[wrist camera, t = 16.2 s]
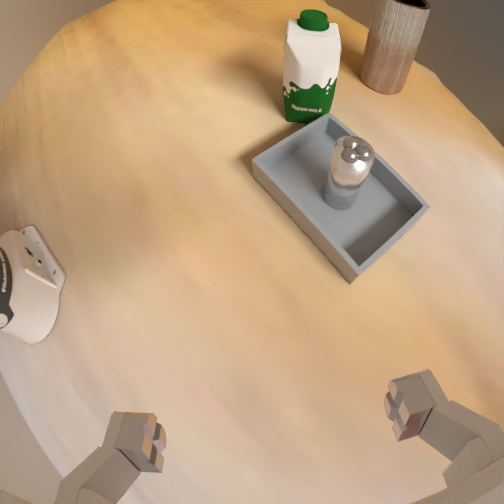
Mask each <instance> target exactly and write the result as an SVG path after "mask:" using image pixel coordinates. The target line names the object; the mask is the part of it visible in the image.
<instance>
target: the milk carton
mask: <svg viewBox="0 0 504 504" xmlns="http://www.w3.org/2000/svg"><path fill="white" fill-rule="evenodd" d="M286 36H287V37H286ZM285 39H286V43H285V40H284V43H285V49H284V46H283V51H284V57H283V94H284V102H285V110H286V118H287V121H289V122H300V123H312V122H313V121H315V120H317V119H318V118H320V117H322V116H324V115H325V114H327V113H329V111H330V108H331V104H332V101H333V97H334V92H335V87H336V81H337V75H338V70H339V63H340V57H341V40H340V35H339V30H338V25H337V24H336V23H329V22H327V15H326V14H325V13H324V12H321V11H318V10H304V11H302V12H301V14H300V19H289V22H288V26H287V30H286V34H285Z"/></svg>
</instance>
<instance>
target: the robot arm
mask: <svg viewBox="0 0 504 504" xmlns="http://www.w3.org/2000/svg"><path fill="white" fill-rule="evenodd" d="M55 272H56V273H55ZM64 280H65V273H64V271H63V270H62V268H61V267H60V265H59V264H58V262H57V261H56V259H55V258H54V256H53V254H52V253H51V251H50V250H49V248H48V247H47V245H46V243H45V242H44V240H43V239H42V237H41V235H40V234H39V232H38V230H37V229H36V227H34V226H28V227H25V228H23V229H22V230H20V231H19V232H18V231H16V230H9V231H7V232H5V233H3V234H2V235H1V236H0V331H2V332H3V333H5V334H8V335H11V336H13V337H15V338H17V339H19V340H21V341H22V342H24V343H27V344H34V343H37V342H39V341H41V340H43V339H44V338H45V337H46V336H47V335H48V333H49V332H50V331H51V329H52V327H53V325H54V323H55V320H56V317H57V313H58V307H59V295H60V291H61V288H62V286H63V283H64ZM388 389H389V392H388V393H387V394H386V395H385V400H384V405H385V411H386V414H387V417H388V418H389V419H390V420H392V421H394V423H393V426H392V429H393V432H394V434H395V437H396V439H397V442H399V441H402V440H405V439H408V438H411V437H414V436H417V435H419V437H420V438H421V439H423V440H424V441H425V442H427V443H428V444H429V445H431V446H432V447H433V448H435V449H436V450H437V451H439V452H440V453H441V454H443V455H444V456H445V457H447V458H448V459H449V460H451V461H452V462H451V464H450V465H449V466H448V467H447V468H446V469H445V470H444V472H443V476H444V479H445V481H446V484H447V487H448V488H446V489H444V490H442V491H439V492H437V493H435V494H433V495H430V496H428V497H426V498H423V499H421V500H418V501H416V502H413V503H410V504H504V433H503V431H502V429H501V428H500V426H499V424H497V423H495V422H493V421H491V420H489V419H487V418H485V417H483V416H481V415H479V414H477V413H475V412H474V411H472V410H470V409H468V408H466V407H464V406H462V405H460V404H458V403H456V402H455V401H453V400H451V401H448V399H447V397H446V395H445V394H444V392H443V390H442V389H441V387H440V385H439V384H438V382H437V380H436V379H435V377H434V375H433V374H432V372H431V371H430V370H429V369H427V370H423V371H421V372H418V373H413V374H410V375H407V376H404V377H401V378H398V379H394V380H391V381H390V382H389V384H388ZM156 421H157V417H156V416H155V415H154V413H134V412H115V411H114V412H113V414H112V415H111V418H110V421H109V424H108V428H107V431H106V435H105V438H104V442H103V445H102V447H98V448H97V449H96V450H95V451H94V452H93V453H92V454H90V455H89V456H88V457H87V458H86V459H85V460H84V461H83V462H82V463H81V464H80V465H78V466H77V467H76V468H75V469H74V470H73V471H72V472H71V473H70V474H68V475H67V476H66V477H65V478H64V479H63V480H62V481H61V483H60V486H59V489H58V493H57V496H56V501H55V504H116V503H117V502H118V501H119V500H120V498H121V497H122V496H123V495H124V494H125V492H126V491H127V490H128V489H129V487H130V486H131V485H132V484H133V482H134V481H135V480H136V479H137V477H138V476H139V475H140V473H141V472H156V473H162V468H163V460H164V457H163V456H162V454H161V452H162V451H163V450H164V448H165V446H166V434H165V431H164V428H163V427H162V425H161V424H159V423H157V422H156ZM0 504H37V503H34V502H32V501H29V500H27V499H25V498H22V497H20V496H18V495H15V494H13V493H11V492H9V491H7V490H5V489H3V488H1V487H0Z"/></svg>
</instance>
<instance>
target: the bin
mask: <svg viewBox="0 0 504 504" xmlns="http://www.w3.org/2000/svg"><path fill="white" fill-rule="evenodd" d="M344 136H356V137H358V136H357V135H356V134H355V133H354V132H352V131H351V130H350V129H349V128H348V127H346V126H345V125H344V124H343V123H342V122H340V121H339V120H338V119H337V118H336V117H334V116H333V115H332V114H331V113H327V114H325V115H324V116H322V117H320V118H318V119H317V120H315V121H313V122H312V123H310V124H308V125H306V126H305V127H303V128H301V129H300V130H298V131H296V132H295V133H293V134H291V135H290V136H288V137H286V138H285V139H283V140H282V141H280V142H278V143H277V144H275V145H273V146H272V147H270V148H269V149H267V150H265V151H264V152H262V153H261V154H259V155H258V156H256V157H254V158H253V159H251V160H252V169H253V178H254V179H255V180H256V181H257V182H258V183H259V184H260V185H261V186H262V187H263V188H264V189H265V190H266V192H267V193H268V194H269V195H270V196H271V197H272V198H273V199H274V200H275V201H276V202H277V203H278V204H279V205H280V207H281V208H282V209H283V210H284V211H285V212H286V213H287V214H288V215H289V216H290V217H291V219H292V220H293V221H294V222H295V223H296V224H297V225H298V226H299V227H300V228H301V230H302V231H303V232H304V233H305V234H306V235H307V236H308V237H309V239H310V240H311V241H312V242H313V243H314V244H315V245H316V246H317V248H318V249H319V250H320V251H321V252H322V253H323V254H324V255H325V257H326V258H327V259H328V260H329V261H330V262H331V263H332V265H333V266H334V267H335V268H336V269H337V270H338V272H339V273H340V274H341V275H342V276H343V277H344V279H345V280H346V281H347V282H348V283H349V284H351V283H352V282H353V281H354V280H355V279H356V278H358V277H359V276H360V275H361V274H362V273H363V272H364V271H365V270H366V269H368V268H369V267H370V266H371V265H372V264H373V263H374V262H375V261H376V260H377V259H378V258H380V257H381V256H382V255H383V254H384V253H385V252H386V251H387V250H388V249H389V248H390V247H391V246H392V245H393V244H394V243H395V242H396V241H397V240H399V239H400V238H401V237H402V236H403V235H404V234H405V233H406V232H407V231H408V230H409V229H410V228H411V227H412V226H413V225H414V224H415V223H416V222H417V221H418V220H419V219H420V218H421V216H422V215H423V214H424V213H425V212H426V211H427V210H428V209H429V208H430V206H429V205H428V204H427V203H426V202H425V201H424V200H423V199H422V198H421V196H420V195H419V194H418V193H417V192H416V191H415V190H414V189H413V188H412V187H411V186H410V185H409V184H408V183H407V182H406V181H405V180H404V179H403V178H402V177H401V176H400V175H399V174H398V173H397V172H396V171H395V170H394V169H393V168H392V167H391V166H390V165H389V164H388V163H387V162H386V161H385V160H384V159H382V158H381V157H380V156H379V155H378V154H377V153H376V152H375V151H374V153H375V159H374V162H373V164H372V166H371V168H370V171H369V173H368V175H367V177H366V179H365V181H364V184H363V186H362V188H361V190H360V192H359V194H358V196H357V198H356V200H355V202H354V204H353V206H352V207H350V208H349V209H347V210H335V209H333V208H331V207H329V206H328V205H327V204H326V203H325V201H324V199H323V196H322V191H323V187H324V184H325V180H326V176H327V173H328V169H329V165H330V161H331V157H332V153H333V150H334V146H335V143H336V141H337V140H338V139H340V138H342V137H344Z"/></svg>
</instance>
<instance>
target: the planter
mask: <svg viewBox="0 0 504 504" xmlns="http://www.w3.org/2000/svg"><path fill="white" fill-rule="evenodd" d="M429 10H430V5H429V3H428V2H427V1H426V0H375V2H374V7H373V12H372V18H371V22H370V27H369V32H368V37H367V42H366V46H365V51H364V55H363V60H362V64H361V68H360V78H361V80H362V81H363V83H364V84H366V85H367V86H368V87H369V88H371V89H373V90H375V91H377V92H380V93H383V94H397V93H399V92H400V91H401V90H402V88H403V86H404V83H405V81H406V78H407V75H408V73H409V70H410V67H411V64H412V62H413V59H414V56H415V53H416V50H417V47H418V44H419V41H420V38H421V36H422V33H423V30H424V26H425V23H426V20H427V17H428V14H429Z"/></svg>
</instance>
